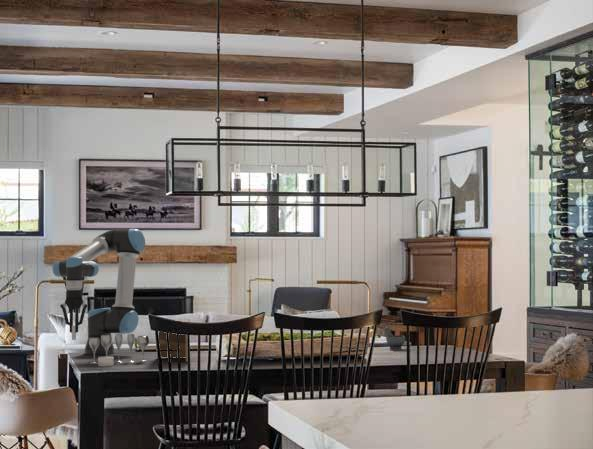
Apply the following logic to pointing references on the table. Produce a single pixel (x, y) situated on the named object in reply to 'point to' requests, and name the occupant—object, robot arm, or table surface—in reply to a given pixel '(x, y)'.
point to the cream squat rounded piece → (106, 361)
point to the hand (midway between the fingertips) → (73, 339)
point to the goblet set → (118, 343)
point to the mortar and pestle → (394, 340)
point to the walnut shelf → (174, 343)
